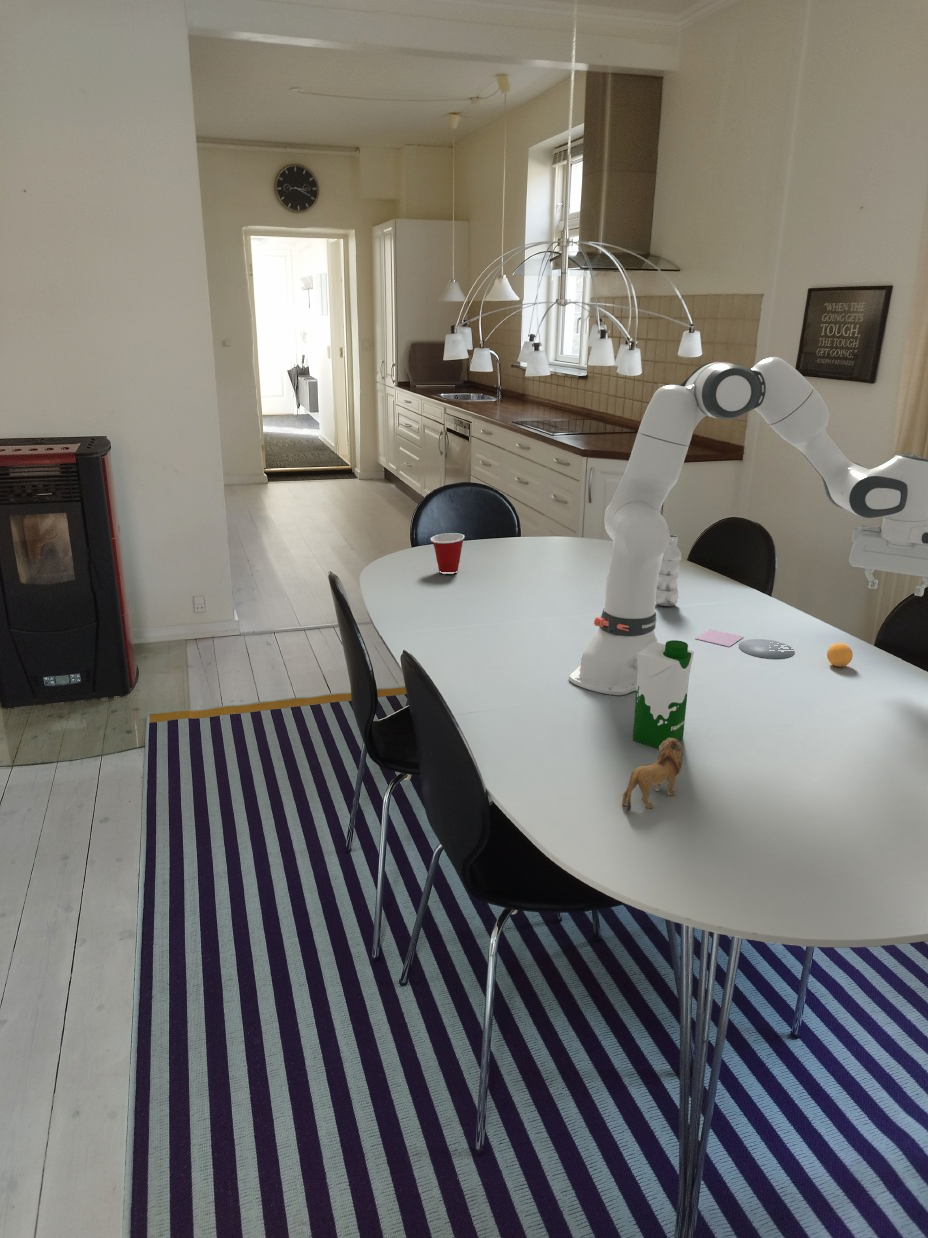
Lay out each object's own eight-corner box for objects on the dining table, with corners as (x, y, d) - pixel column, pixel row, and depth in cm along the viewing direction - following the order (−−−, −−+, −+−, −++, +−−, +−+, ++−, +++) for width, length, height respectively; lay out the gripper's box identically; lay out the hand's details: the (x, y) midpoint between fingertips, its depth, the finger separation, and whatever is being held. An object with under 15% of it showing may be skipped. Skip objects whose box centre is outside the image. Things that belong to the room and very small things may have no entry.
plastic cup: (426, 569, 276) (426, 533, 272) (458, 567, 279) (458, 531, 275) (435, 578, 266) (435, 541, 262) (468, 576, 269) (469, 538, 265)
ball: (846, 672, 195) (850, 649, 194) (822, 666, 199) (825, 644, 197) (853, 665, 199) (857, 643, 198) (829, 659, 203) (832, 637, 201)
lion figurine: (660, 776, 150) (664, 730, 147) (687, 787, 146) (692, 740, 143) (613, 809, 140) (617, 760, 137) (642, 821, 136) (646, 771, 133)
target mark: (783, 663, 200) (783, 662, 200) (729, 650, 208) (730, 649, 208) (802, 647, 210) (802, 647, 210) (750, 636, 218) (750, 635, 218)
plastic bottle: (678, 609, 238) (684, 539, 232) (653, 607, 239) (658, 538, 233) (677, 602, 244) (683, 534, 238) (653, 601, 245) (658, 533, 239)
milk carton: (668, 755, 157) (678, 653, 151) (625, 740, 163) (632, 642, 156) (689, 738, 164) (699, 640, 157) (647, 724, 169) (654, 629, 163)
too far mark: (729, 647, 210) (729, 646, 210) (695, 639, 216) (695, 638, 216) (743, 637, 217) (743, 636, 217) (710, 629, 222) (710, 629, 222)
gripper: (849, 527, 188) (841, 587, 193) (952, 539, 176) (942, 603, 180) (857, 521, 193) (850, 580, 197) (959, 533, 180) (949, 595, 185)
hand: (895, 591), depth 188 cm, fingers open, 8 cm apart
